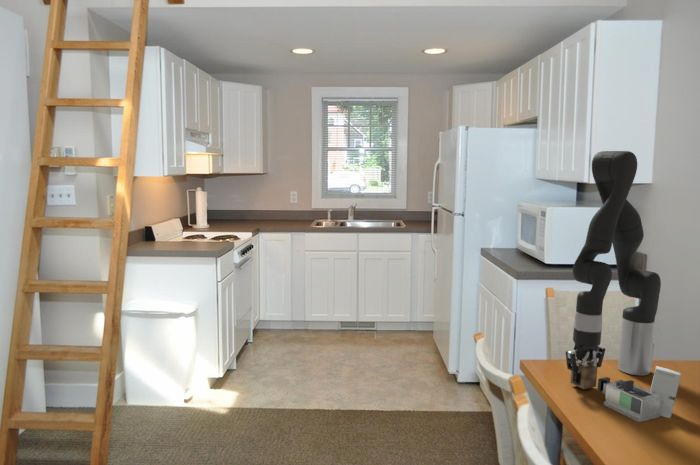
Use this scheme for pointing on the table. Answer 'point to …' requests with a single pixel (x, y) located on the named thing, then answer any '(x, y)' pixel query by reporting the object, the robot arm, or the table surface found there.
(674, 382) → the skincare box
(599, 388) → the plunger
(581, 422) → the table surface
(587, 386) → the walnut block
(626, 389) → the dark gray block
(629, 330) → the robot arm
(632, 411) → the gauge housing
